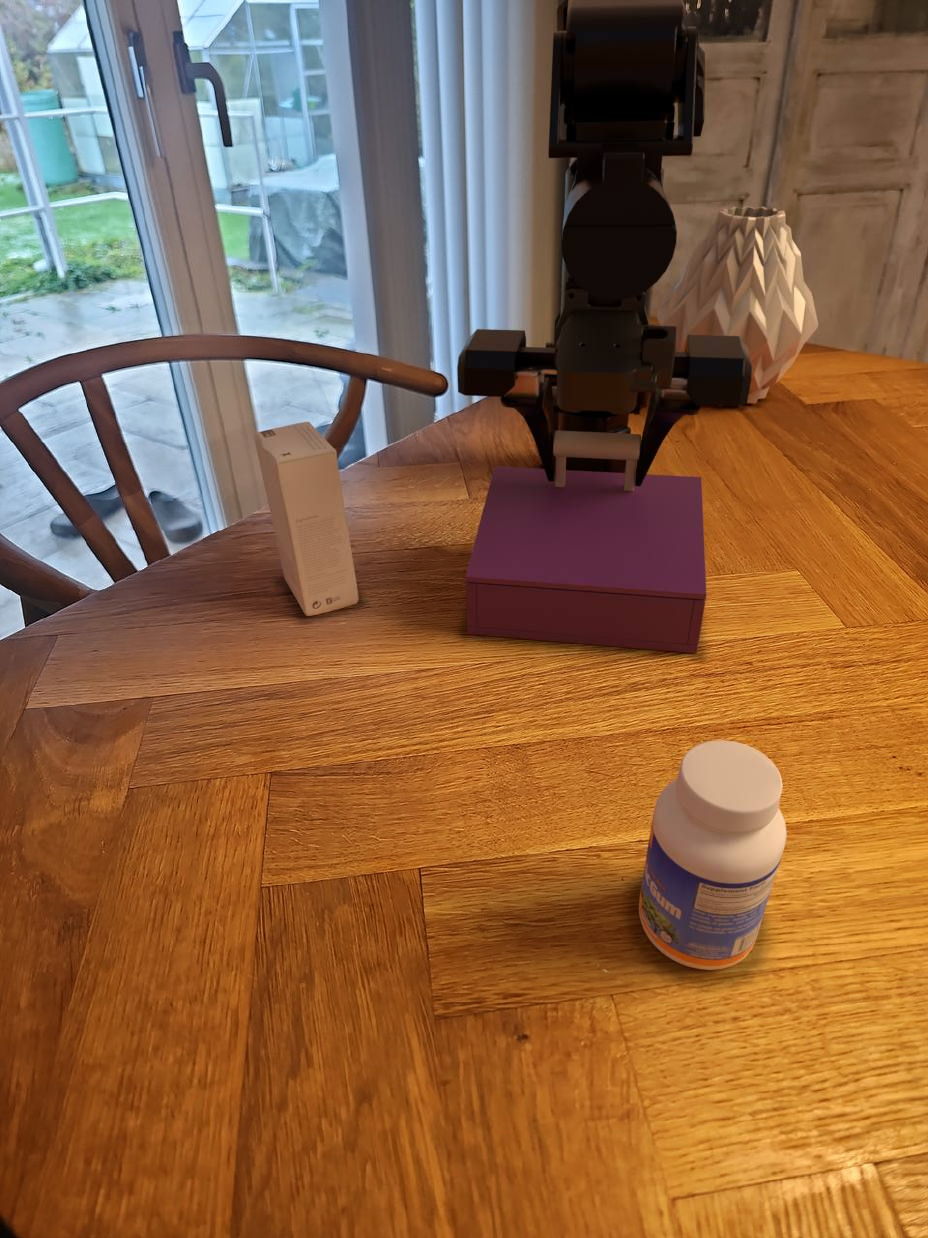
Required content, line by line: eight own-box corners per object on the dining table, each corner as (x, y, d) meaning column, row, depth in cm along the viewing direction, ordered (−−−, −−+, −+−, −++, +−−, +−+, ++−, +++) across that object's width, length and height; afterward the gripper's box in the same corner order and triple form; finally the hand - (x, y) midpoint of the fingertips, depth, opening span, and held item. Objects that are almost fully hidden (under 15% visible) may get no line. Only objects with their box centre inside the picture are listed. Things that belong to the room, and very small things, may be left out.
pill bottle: (625, 878, 41) (644, 731, 36) (733, 869, 42) (769, 721, 36) (655, 981, 37) (682, 831, 31) (776, 969, 37) (824, 818, 32)
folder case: (494, 544, 68) (493, 497, 66) (690, 557, 66) (697, 509, 63) (467, 634, 58) (465, 583, 56) (696, 654, 56) (705, 601, 53)
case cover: (494, 471, 65) (492, 414, 62) (700, 482, 63) (710, 423, 59) (465, 582, 56) (461, 522, 53) (705, 600, 53) (717, 538, 50)
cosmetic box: (361, 603, 62) (343, 448, 55) (302, 620, 60) (275, 463, 53) (334, 565, 66) (314, 417, 59) (278, 579, 65) (251, 430, 58)
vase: (632, 374, 100) (647, 201, 89) (766, 365, 101) (797, 194, 90) (675, 427, 87) (699, 232, 76) (829, 416, 88) (873, 222, 77)
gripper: (434, 286, 47) (446, 528, 57) (782, 293, 44) (735, 547, 54) (469, 240, 56) (474, 456, 65) (761, 243, 53) (723, 469, 62)
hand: (594, 481), depth 62 cm, fingers closed on case cover, 6 cm apart
